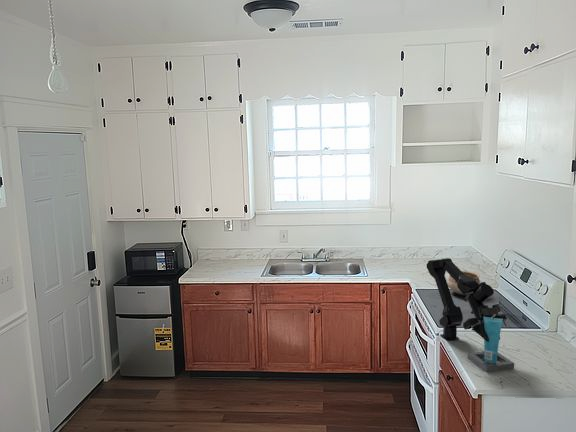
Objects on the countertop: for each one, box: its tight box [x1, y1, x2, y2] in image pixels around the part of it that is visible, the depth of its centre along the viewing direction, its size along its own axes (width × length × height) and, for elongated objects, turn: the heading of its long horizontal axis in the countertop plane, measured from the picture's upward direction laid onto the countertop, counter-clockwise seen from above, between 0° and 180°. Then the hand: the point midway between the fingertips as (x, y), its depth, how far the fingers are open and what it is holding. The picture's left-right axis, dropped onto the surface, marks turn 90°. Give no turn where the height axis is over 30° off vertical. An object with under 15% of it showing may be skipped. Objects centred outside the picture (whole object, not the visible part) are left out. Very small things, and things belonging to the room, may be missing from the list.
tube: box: [483, 317, 504, 364], centre depth 203 cm, size 7×5×19 cm, turn 75°
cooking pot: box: [446, 270, 481, 297], centre depth 293 cm, size 25×19×12 cm
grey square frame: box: [467, 350, 515, 373], centre depth 204 cm, size 13×13×2 cm
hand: (493, 340), depth 202 cm, fingers closed on tube, 5 cm apart
